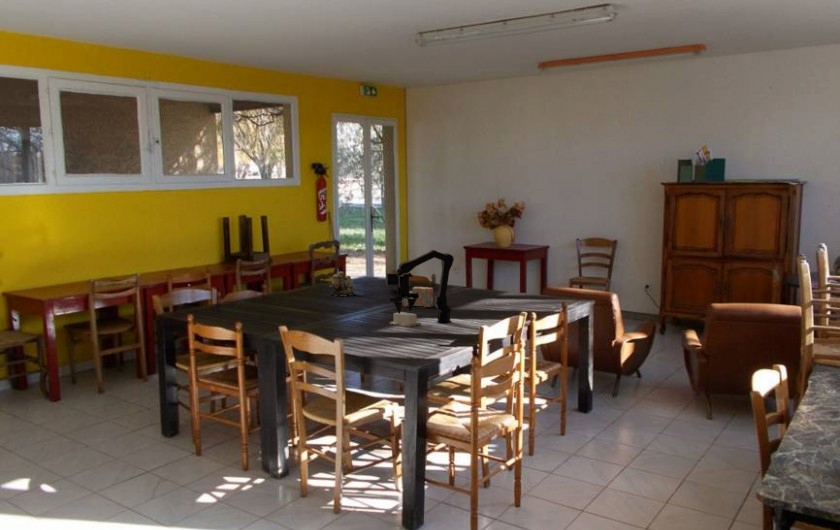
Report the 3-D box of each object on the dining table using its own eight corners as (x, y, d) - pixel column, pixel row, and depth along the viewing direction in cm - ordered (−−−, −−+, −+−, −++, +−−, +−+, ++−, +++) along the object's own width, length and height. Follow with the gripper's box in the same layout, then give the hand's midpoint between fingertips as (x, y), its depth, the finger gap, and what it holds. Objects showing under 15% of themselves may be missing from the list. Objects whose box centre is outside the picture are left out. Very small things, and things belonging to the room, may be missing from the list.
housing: (416, 323, 400) (416, 314, 400) (409, 324, 396) (409, 316, 395) (400, 320, 408) (400, 311, 407) (393, 322, 403) (393, 313, 403)
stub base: (420, 324, 401) (420, 317, 400) (409, 327, 393) (409, 320, 393) (400, 321, 410) (400, 314, 410) (389, 324, 403) (389, 317, 402)
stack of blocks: (398, 306, 458) (398, 287, 457) (401, 304, 464) (401, 286, 463) (430, 307, 452) (430, 288, 451) (433, 306, 458) (433, 287, 457)
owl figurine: (330, 297, 493) (329, 273, 491) (328, 294, 505) (327, 271, 503) (356, 296, 498) (355, 271, 496) (353, 293, 509) (352, 269, 507)
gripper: (404, 281, 411) (404, 308, 413) (382, 285, 397) (382, 313, 399) (419, 283, 404) (419, 310, 406) (397, 287, 390) (397, 315, 392)
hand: (404, 312), depth 401 cm, fingers open, 9 cm apart
